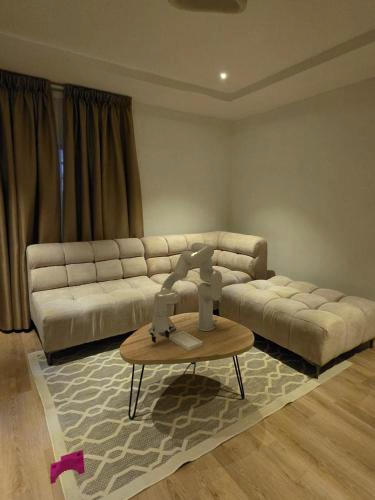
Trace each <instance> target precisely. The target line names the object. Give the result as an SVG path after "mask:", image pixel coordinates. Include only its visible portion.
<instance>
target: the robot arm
mask: <svg viewBox="0 0 375 500" xmlns="http://www.w3.org/2000/svg"><path fill="white" fill-rule="evenodd" d="M214 253H215V248H214V247H213V245H210V244H207V243H206V244H205V243H203V242H194V243H192V244H191V246H190V250H184V251H182V252H181V254H180V256H179V258H178V260H177V263H176V265H175V268H174V270H173V271H172V273H171V274H170V275H169V276H168V277H167V278H166V279H165V280H164V282H163V283H162V286H161V288H160V290H159V292H156V293H154V310H153V311H154V315H153V316H152V320H151V327H149V329H148V330H147V331H148V333H149V335H150V336H151V341H152V342H153V343H154V344H156V342H157V337H156V335H158V333H159V332H162V331H165V330H166V331H165V335H164V336H165V338H167V339H169V336H170V333H169V332H170V330H171V328H172V325H173V324H174V323H173V324H172V323H170V322H169V318H170V317H169V314H168V312H169V309H168V305H176V304H177V303H179V302H180V300H181V295H180V293H179V292H178V291H175V290H173V289H172V288H173V286H174V284H175V283H177V282H178V281H181V280H184V279H186V278H187V276H188V274H189V271H190V269H191V267H198V266H199V279H200V280H201V281H202V282H201V283H200V284H199V285H198V286H197V295H198V323H197V324H196V327H195V328H196V329H197V330H199V331H201V332H211V331H213V330H215V328H216V327H215V324H216V323H218V320H217V319H214V318H213V315H214V313H213V312H214V309H213V308H214V302H213V301H219V300H220V299H221V297H222V293H223V276H222V273H221V271H219V269H214V268H213V259H212V257H213V256H214V255H215V254H214ZM168 317H169V318H168Z"/></svg>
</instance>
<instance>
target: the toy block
mask: <svg viewBox="0 0 375 500" xmlns="http://www.w3.org/2000/svg"><path fill="white" fill-rule="evenodd" d="M84 456H85V455H84V449H80V450H78V451H75V452H71V453H67V454H64V455H61V456H60V461H56V462H53V463H50V468H49V469H50V470H49V472H50V473H49V474H50V475H49V476H50V477H49V479H50V480H49V481H50V485H52V484H56V481H57V479H58V478H59V477H60V476H61V474H64V471H65V472H67V471H75V472H77V474H78V475H83V474H85V473H86V472H85V471H86V470H85V469H86V468H85V457H84Z"/></svg>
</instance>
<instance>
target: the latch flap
mask: <svg viewBox="0 0 375 500" xmlns="http://www.w3.org/2000/svg"><path fill="white" fill-rule="evenodd" d="M168 318H169V322H170V323H172V324H173V325H172V328H174V327H176V325H175V323H173V321H172V320H171V317H169V316H168Z"/></svg>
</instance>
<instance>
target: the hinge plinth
mask: <svg viewBox="0 0 375 500" xmlns="http://www.w3.org/2000/svg"><path fill="white" fill-rule="evenodd" d="M165 331H166V330H165ZM165 331H162V332H159V333H157V335H159V336H161V337H163V336H165ZM176 331H177V326H175V327H174V328H171V330H170V332H169V334H171V333H174V332H176Z"/></svg>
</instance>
